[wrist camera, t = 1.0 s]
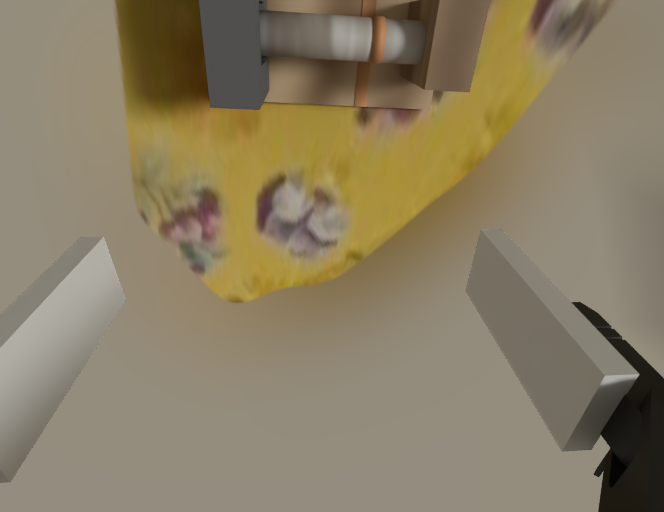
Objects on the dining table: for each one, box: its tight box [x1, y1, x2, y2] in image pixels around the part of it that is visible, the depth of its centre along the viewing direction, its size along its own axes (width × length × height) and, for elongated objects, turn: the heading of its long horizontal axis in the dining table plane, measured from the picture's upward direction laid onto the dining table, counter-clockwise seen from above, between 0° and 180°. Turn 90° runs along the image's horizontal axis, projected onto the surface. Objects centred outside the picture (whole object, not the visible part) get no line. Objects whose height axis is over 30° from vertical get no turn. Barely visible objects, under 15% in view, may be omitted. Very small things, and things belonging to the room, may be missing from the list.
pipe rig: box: [259, 0, 490, 110], centre depth 26 cm, size 18×10×8 cm, turn 87°
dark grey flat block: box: [199, 0, 269, 110], centre depth 25 cm, size 3×8×8 cm, turn 177°
